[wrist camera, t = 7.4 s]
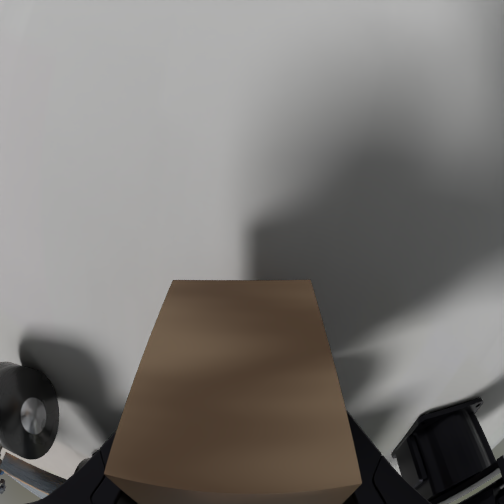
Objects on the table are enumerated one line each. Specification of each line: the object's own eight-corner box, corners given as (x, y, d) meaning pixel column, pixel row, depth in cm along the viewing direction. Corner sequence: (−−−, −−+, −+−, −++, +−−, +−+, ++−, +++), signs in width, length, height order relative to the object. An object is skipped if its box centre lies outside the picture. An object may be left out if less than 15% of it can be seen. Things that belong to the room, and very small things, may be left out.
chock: (310, 279, 9) (362, 483, 3) (293, 401, 11) (306, 535, 6) (173, 280, 9) (103, 473, 3) (197, 400, 11) (179, 533, 6)
